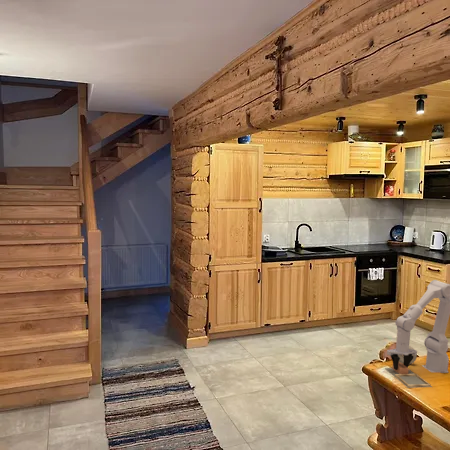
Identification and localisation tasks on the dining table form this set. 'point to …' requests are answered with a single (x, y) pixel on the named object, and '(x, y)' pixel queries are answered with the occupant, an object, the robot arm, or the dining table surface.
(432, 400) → the dining table surface
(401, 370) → the reddish brown block
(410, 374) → the frame
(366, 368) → the dining table surface
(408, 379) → the mat
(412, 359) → the donut
